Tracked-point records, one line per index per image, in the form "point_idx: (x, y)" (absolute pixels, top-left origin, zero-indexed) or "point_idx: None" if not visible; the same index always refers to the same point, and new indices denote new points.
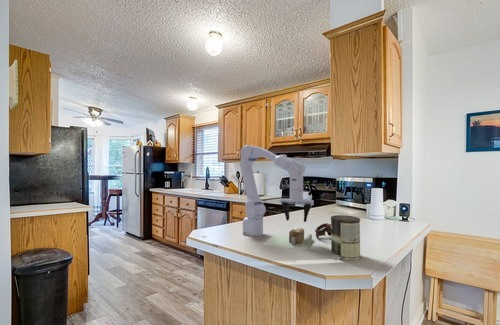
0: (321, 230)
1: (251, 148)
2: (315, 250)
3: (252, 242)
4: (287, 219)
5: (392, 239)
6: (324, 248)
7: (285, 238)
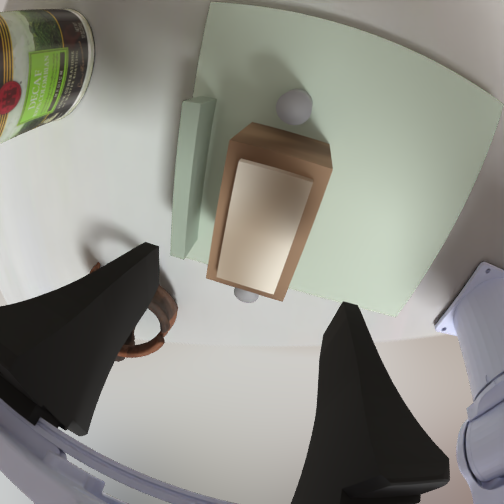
0: None
1: None
2: (162, 81)
3: None
4: (348, 307)
5: (11, 285)
6: (122, 134)
7: (348, 247)
